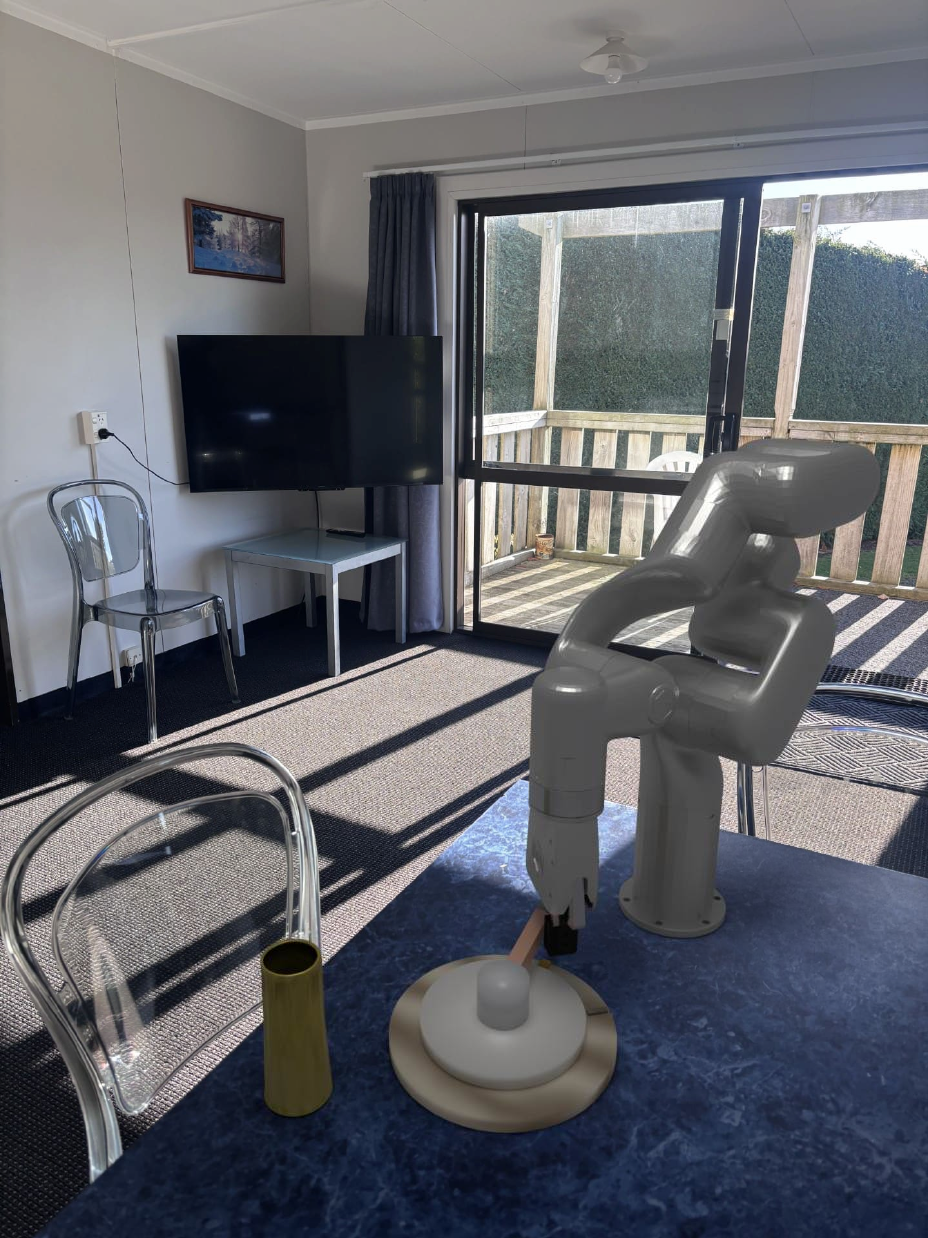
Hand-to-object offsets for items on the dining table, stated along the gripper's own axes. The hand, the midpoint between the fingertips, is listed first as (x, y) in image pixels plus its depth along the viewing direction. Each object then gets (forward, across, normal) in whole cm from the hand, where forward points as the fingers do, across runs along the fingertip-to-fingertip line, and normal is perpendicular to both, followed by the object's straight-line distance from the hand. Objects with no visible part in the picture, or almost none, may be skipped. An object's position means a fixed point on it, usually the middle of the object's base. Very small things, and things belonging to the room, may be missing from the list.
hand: (560, 950), depth 95 cm
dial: (+2, +4, -6) cm, 8 cm away
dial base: (+4, +7, -8) cm, 11 cm away
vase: (+4, +9, -28) cm, 29 cm away
